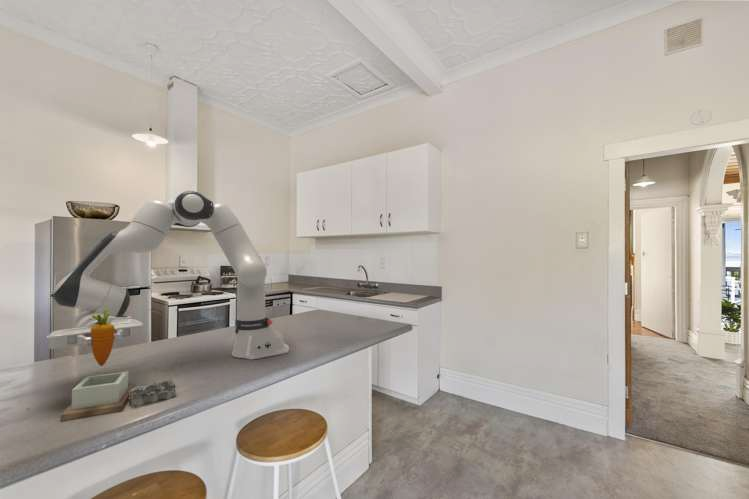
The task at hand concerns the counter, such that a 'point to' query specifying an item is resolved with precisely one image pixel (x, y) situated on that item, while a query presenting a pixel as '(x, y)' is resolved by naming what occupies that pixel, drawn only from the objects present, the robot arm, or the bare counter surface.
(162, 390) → the egg carton
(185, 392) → the counter surface
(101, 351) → the carrot
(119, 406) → the walnut board
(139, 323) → the robot arm
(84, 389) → the square open planter
